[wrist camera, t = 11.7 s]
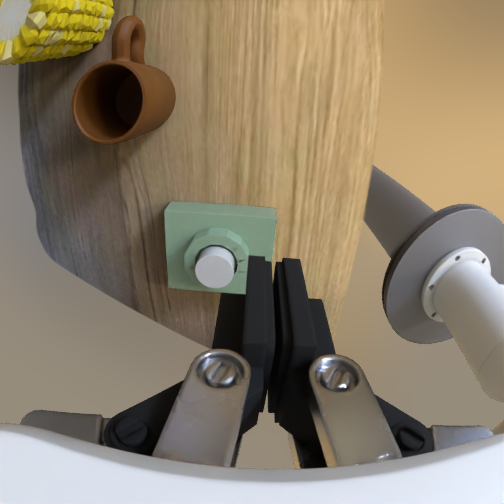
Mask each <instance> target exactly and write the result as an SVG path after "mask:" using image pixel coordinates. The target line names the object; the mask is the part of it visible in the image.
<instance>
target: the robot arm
mask: <svg viewBox="0 0 504 504" xmlns="http://www.w3.org/2000/svg"><path fill="white" fill-rule="evenodd" d="M421 302H422V306H423V309H424V311H425V312H426V314H427V315H428V316H429V317H430V318H431V319H433V320H435V321H439V322H444V323H445V325H446V326H447V328H448V329H449V331H450V333H451V334H452V336H453V338H454V339H455V341H456V343H457V344H458V346H459V348H460V349H461V351H462V353H463V354H464V356H465V358H466V360H467V361H468V363H469V365H470V367H471V369H472V371H473V372H474V374H475V376H476V378H477V380H478V382H479V383H480V385H481V387H482V389H483V390H484V392H485V393H486V394H487V395H488V396H489V397H490V398H492V399H494V400H497V401H500V402H504V285H503V284H498V283H497V281H496V280H495V279H494V278H493V277H492V276H491V267H490V262H489V260H488V258H487V257H486V255H485V254H484V253H483V252H481V251H480V250H479V249H477V248H474V247H462V248H459V249H456V250H454V251H452V252H450V253H449V254H447V255H446V256H445V257H443V258H442V259H441V260H440V261H439V262H438V263H437V264H436V265H435V266H434V268H433V269H432V270H431V271H430V273H429V275H428V276H427V278H426V280H425V283H424V285H423V289H422V293H421ZM267 389H268V412H269V413H275V414H274V415H275V423H279V425H280V426H281V427H283V428H284V429H285V430H286V431H288V440H289V445H290V449H291V453H292V458H293V462H294V466H295V469H251V468H236V463H237V460H238V456H239V452H240V447H241V443H242V439H243V434H244V433H245V432H247V431H248V430H249V429H251V428H252V427H254V426H255V425H256V424H257V420H258V414H259V412H263V409H264V404H265V399H266V394H267ZM0 504H504V421H503V422H502V423H501V424H499V425H498V426H497V427H495V428H494V429H493V430H492V431H491V430H490V429H488V428H486V427H484V426H443V425H432V426H431V427H430V428H426V427H425V426H424V425H423V424H422V423H420V422H419V421H417V420H415V419H414V418H412V417H410V416H409V415H407V414H406V413H404V412H402V411H401V410H399V409H397V408H396V407H394V406H393V405H391V404H389V403H388V402H386V401H384V400H383V399H381V398H379V397H378V396H376V395H375V394H374V393H373V391H372V389H371V387H370V385H369V382H368V380H367V378H366V376H365V374H364V372H363V370H362V369H361V367H360V366H359V365H358V364H357V363H356V362H355V361H353V360H352V359H350V358H348V357H345V356H342V355H337V354H336V353H335V349H334V345H333V341H332V337H331V333H330V329H329V325H328V321H327V317H326V313H325V309H324V305H323V302H322V300H321V299H309V298H308V294H307V290H306V285H305V280H304V275H303V271H302V266H301V262H300V259H292V258H283V259H282V262H276V265H275V273H274V280H272V263H271V261H265V256H253V255H249V256H248V268H247V280H246V293H245V294H236V293H224V292H222V293H221V298H220V304H219V310H218V316H217V321H216V327H215V333H214V339H213V345H212V350H208V351H206V352H203V353H201V354H200V355H198V356H197V357H196V358H195V359H194V361H193V362H192V363H191V365H190V368H189V370H188V372H187V375H186V377H185V379H184V380H183V381H181V382H179V383H177V384H175V385H173V386H172V387H170V388H168V389H166V390H164V391H162V392H161V393H158V394H156V395H155V396H153V397H151V398H149V399H147V400H145V401H143V402H141V403H139V404H137V405H135V406H133V407H131V408H129V409H127V410H125V411H123V412H120V413H118V414H117V415H115V416H114V417H112V418H103V417H102V415H97V414H80V413H67V412H55V411H46V410H34V411H32V412H30V413H28V414H27V415H26V416H25V417H24V418H23V419H22V421H21V423H20V424H11V423H0Z"/></svg>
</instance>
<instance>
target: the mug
mask: <svg viewBox="0 0 504 504" xmlns="http://www.w3.org/2000/svg"><path fill="white" fill-rule="evenodd" d="M144 46H145V29H144V25H143V23H142V21H141V20H140V19H139V18H138V17H135V16H127V17H125V18H123V19H121V20H120V21H119V23H118V24H117V25H116V28H115V30H114V33H113V36H112V60H111V61H106V62H102V63H100V64H97V65H96V66H94V67H92V68H91V69H90V70H88V71H87V72H86V73H85V74H84V75H83V77H82V78H81V79H80V81H79V82H78V84H77V86H76V88H75V91H74V94H73V98H72V115H73V119H74V122H75V124H76V126H77V128H78V130H79V131H80V132H81V133H82V134H83V135H84V136H85V137H86V138H87V139H89V140H90V141H92V142H95V143H98V144H103V145H109V144H115V143H120V142H124V141H127V140H130V139H132V138H135V137H137V136H140V135H142V134H145V133H147V132H150V131H152V130H154V129H156V128H158V127H159V126H161V125H162V124H163V123H164V122H165V121H166V120H167V119H168V118H169V116H170V115H171V113H172V111H173V108H174V105H175V98H176V96H175V88H174V85H173V83H172V81H171V79H170V78H169V77H168V76H167V74H165V73H164V72H163V71H161V70H160V69H158V68H155V67H152V66H148V65H145V63H144Z"/></svg>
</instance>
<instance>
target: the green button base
mask: <svg viewBox="0 0 504 504" xmlns="http://www.w3.org/2000/svg"><path fill="white" fill-rule="evenodd" d="M164 223H165V244H166V261H167V275H168V287H169V288H175V289H185V290H195V291H206V292H218V293H222V292H224V293H236V294H245V293H246V280H247V268H248V256H249V255H253V256H265V261H271V263H272V256H273V248H274V240H275V231H276V223H277V216H276V208H268V207H256V206H243V205H230V204H216V203H200V202H183V201H171V202H170V204H169V205H168V206H167V207H166V209H165V210H164ZM210 246H220V247H223V248H226V249H227V250H229V251H230V252H231V254H232V255H233V257H234V259H235V268H234V275H233V279H232V280H231V282H230V283H229V284H228V285H226V286H224V287H222V288H210V287H207V286H205V285H203V284H202V283H201V282H200V281H199V280H198V279H197V277H196V274H195V266H196V263H197V260H198V257H199V255H200V253H201V252H202V251H203V250H204V249H205V248H207V247H210Z"/></svg>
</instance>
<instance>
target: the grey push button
mask: <svg viewBox="0 0 504 504" xmlns="http://www.w3.org/2000/svg"><path fill="white" fill-rule="evenodd" d="M234 268H235V259H234V257H233V255H232V254H231V252H230V251H229V250H227V249H226V248H223V247H220V246H210V247H207V248H205V249H204V250H203V251H202V252H201V253H200V255H199V257H198V260H197V263H196V266H195V274H196V277H197V279H198V280H199V281H200V282H201V283H202V284H203V285H205V286H207V287H210V288H222V287H224V286H226V285H228V284H229V283H230V282H231V280H232V279H233V275H234Z"/></svg>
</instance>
